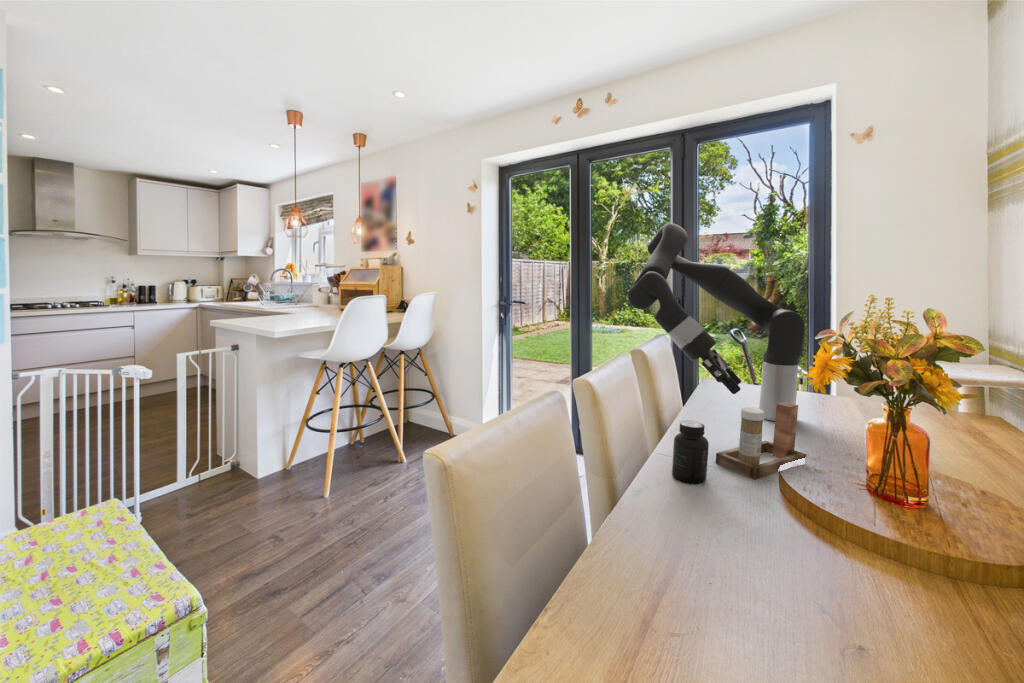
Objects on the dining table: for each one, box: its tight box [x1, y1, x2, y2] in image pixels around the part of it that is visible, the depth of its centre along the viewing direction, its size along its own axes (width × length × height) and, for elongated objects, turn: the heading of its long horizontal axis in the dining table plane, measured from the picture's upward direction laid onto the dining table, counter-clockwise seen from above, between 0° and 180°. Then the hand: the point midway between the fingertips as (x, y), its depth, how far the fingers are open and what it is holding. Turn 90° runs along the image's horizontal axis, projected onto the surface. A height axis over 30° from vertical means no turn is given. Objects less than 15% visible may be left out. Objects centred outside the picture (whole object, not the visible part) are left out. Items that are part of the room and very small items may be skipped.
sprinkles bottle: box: [738, 406, 765, 466], centre depth 100 cm, size 5×5×13 cm
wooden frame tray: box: [715, 402, 807, 480], centre depth 103 cm, size 19×10×13 cm, turn 117°
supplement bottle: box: [671, 420, 710, 486], centre depth 95 cm, size 7×7×12 cm
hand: (737, 387), depth 110 cm, fingers open, 8 cm apart
